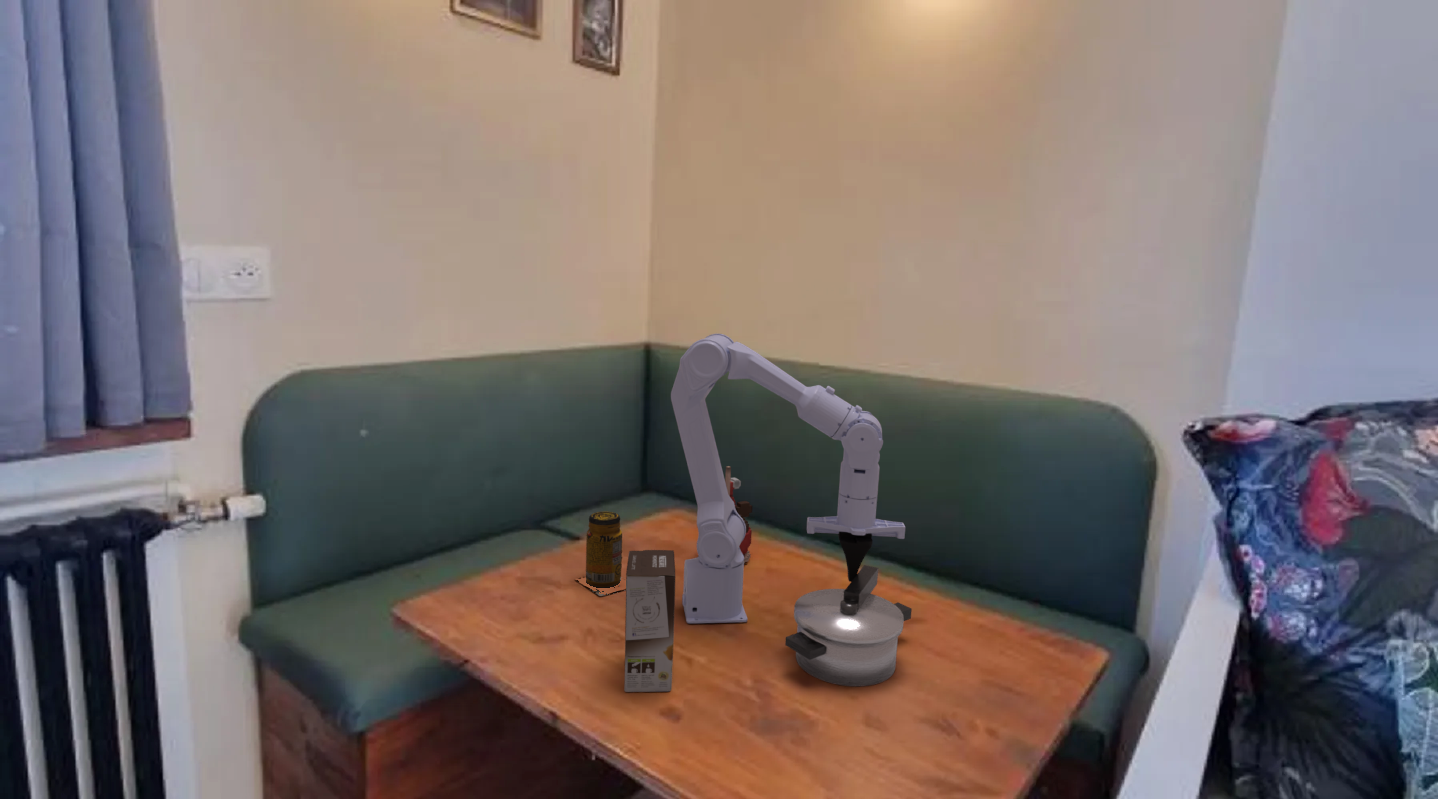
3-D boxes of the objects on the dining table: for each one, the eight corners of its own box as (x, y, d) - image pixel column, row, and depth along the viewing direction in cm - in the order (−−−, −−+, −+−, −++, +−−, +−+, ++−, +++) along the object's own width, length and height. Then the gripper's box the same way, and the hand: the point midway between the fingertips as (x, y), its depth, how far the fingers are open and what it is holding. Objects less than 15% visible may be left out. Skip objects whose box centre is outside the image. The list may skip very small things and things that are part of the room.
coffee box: (673, 692, 102) (676, 575, 99) (623, 693, 102) (625, 575, 99) (671, 657, 111) (674, 549, 108) (625, 657, 111) (627, 548, 108)
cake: (713, 573, 141) (717, 476, 138) (687, 556, 149) (690, 463, 145) (762, 563, 146) (766, 469, 143) (734, 546, 154) (738, 457, 151)
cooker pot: (833, 703, 101) (836, 660, 100) (761, 658, 112) (763, 618, 111) (940, 656, 114) (943, 617, 113) (867, 619, 125) (870, 583, 124)
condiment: (610, 571, 140) (611, 506, 138) (637, 587, 134) (638, 520, 132) (574, 580, 136) (574, 514, 134) (599, 598, 129) (600, 528, 127)
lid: (888, 656, 101) (891, 630, 100) (778, 628, 107) (779, 604, 107) (919, 599, 119) (921, 576, 118) (822, 578, 125) (823, 557, 124)
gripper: (811, 499, 114) (805, 587, 117) (911, 504, 114) (903, 593, 116) (808, 485, 121) (803, 568, 124) (903, 490, 121) (896, 574, 123)
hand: (851, 579), depth 121 cm, fingers closed
